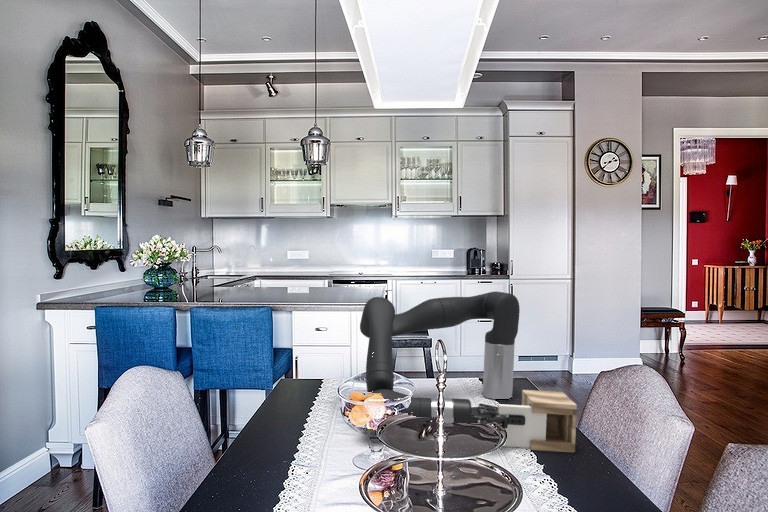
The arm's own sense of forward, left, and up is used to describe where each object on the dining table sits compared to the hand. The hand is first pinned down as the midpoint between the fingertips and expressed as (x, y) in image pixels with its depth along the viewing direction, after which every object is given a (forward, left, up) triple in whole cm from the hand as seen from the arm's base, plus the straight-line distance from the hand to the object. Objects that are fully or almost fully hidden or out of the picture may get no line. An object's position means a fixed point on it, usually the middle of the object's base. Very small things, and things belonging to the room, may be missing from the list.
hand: (523, 418), depth 119 cm
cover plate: (0, 0, -6) cm, 7 cm away
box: (-4, +7, -6) cm, 10 cm away
